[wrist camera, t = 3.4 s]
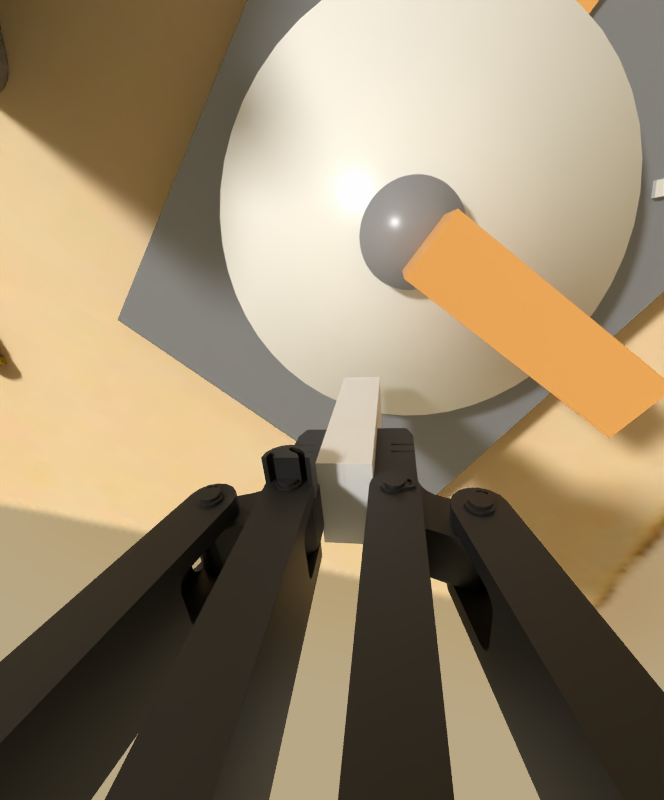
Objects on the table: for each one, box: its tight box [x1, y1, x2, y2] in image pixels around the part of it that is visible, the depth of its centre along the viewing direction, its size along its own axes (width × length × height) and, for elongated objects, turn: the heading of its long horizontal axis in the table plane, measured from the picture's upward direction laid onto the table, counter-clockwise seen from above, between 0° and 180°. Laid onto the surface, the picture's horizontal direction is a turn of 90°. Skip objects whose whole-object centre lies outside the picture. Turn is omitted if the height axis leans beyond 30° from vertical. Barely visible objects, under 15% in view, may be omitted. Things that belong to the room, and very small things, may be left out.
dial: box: [220, 0, 664, 438], centre depth 14 cm, size 18×16×5 cm
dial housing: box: [118, 0, 664, 495], centre depth 17 cm, size 24×20×2 cm
